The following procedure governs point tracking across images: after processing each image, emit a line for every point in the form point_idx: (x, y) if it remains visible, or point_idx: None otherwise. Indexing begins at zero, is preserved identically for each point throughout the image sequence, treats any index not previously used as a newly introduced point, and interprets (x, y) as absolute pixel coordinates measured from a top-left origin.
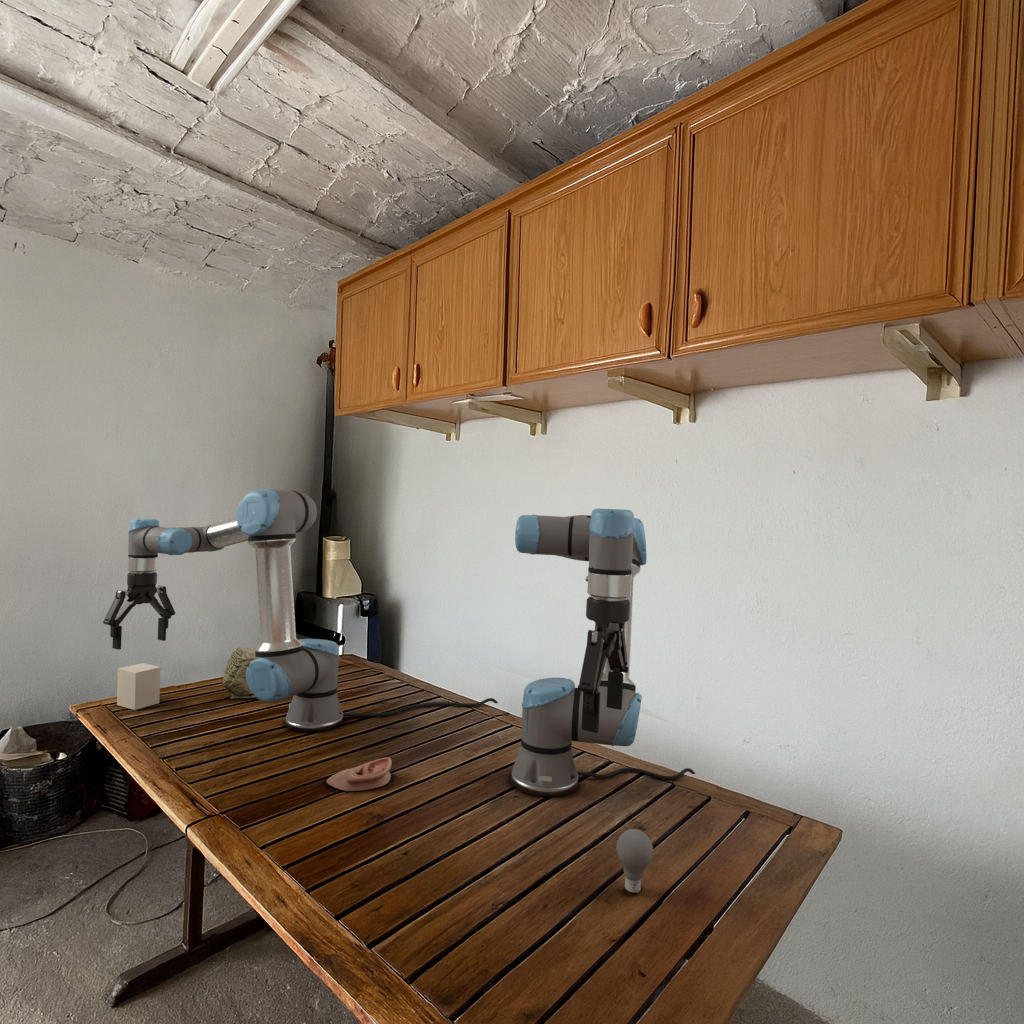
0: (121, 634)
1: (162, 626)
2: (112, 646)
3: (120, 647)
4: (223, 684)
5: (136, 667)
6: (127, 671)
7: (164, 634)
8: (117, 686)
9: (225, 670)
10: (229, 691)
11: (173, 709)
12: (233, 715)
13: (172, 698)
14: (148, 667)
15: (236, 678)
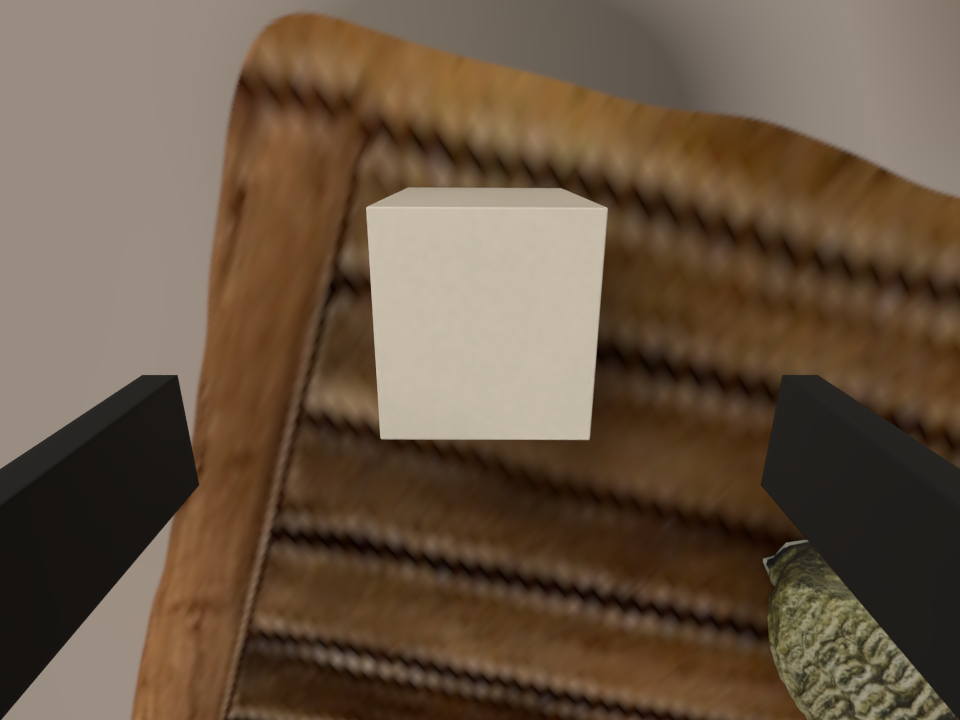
0: (79, 624)
1: (893, 600)
2: (127, 386)
3: (181, 496)
4: (779, 592)
5: (476, 306)
6: (375, 338)
7: (816, 538)
8: (391, 195)
9: (860, 625)
10: (778, 580)
11: (524, 477)
12: (598, 701)
13: (643, 332)
14: (532, 379)
15: (797, 700)
